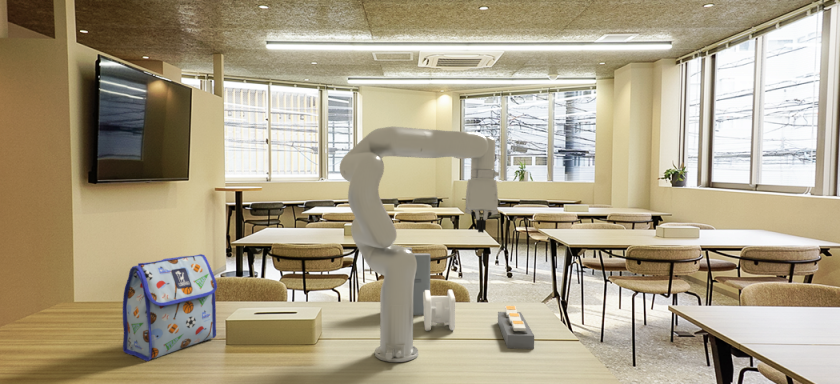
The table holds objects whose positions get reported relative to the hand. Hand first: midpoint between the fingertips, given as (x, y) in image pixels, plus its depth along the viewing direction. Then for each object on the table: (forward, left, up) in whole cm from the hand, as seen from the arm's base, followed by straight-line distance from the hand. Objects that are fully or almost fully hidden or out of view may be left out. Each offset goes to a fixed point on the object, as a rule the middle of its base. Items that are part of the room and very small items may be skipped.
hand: (480, 231), depth 157 cm
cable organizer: (+9, +13, -34) cm, 38 cm away
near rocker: (-6, -12, -28) cm, 31 cm away
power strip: (+6, -12, -34) cm, 36 cm away
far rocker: (+10, -12, -28) cm, 32 cm away
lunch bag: (-16, +93, -34) cm, 101 cm away
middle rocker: (+2, -12, -28) cm, 31 cm away
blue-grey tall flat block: (+24, +25, -34) cm, 49 cm away
